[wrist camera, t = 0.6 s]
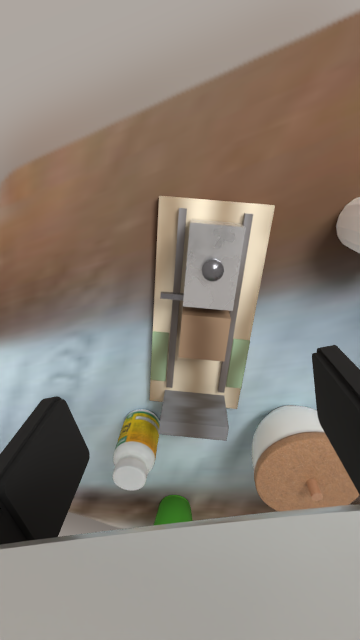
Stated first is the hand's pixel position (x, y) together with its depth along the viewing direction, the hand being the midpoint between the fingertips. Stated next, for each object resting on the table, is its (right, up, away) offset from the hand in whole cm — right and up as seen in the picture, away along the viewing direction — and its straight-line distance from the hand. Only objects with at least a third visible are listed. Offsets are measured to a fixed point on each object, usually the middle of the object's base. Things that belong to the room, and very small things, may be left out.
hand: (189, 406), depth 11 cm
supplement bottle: (-6, -12, +33) cm, 35 cm away
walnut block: (+2, +3, +25) cm, 25 cm away
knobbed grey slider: (+2, +10, +22) cm, 24 cm away
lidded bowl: (+15, -12, +32) cm, 37 cm away
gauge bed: (+3, +4, +26) cm, 26 cm away
